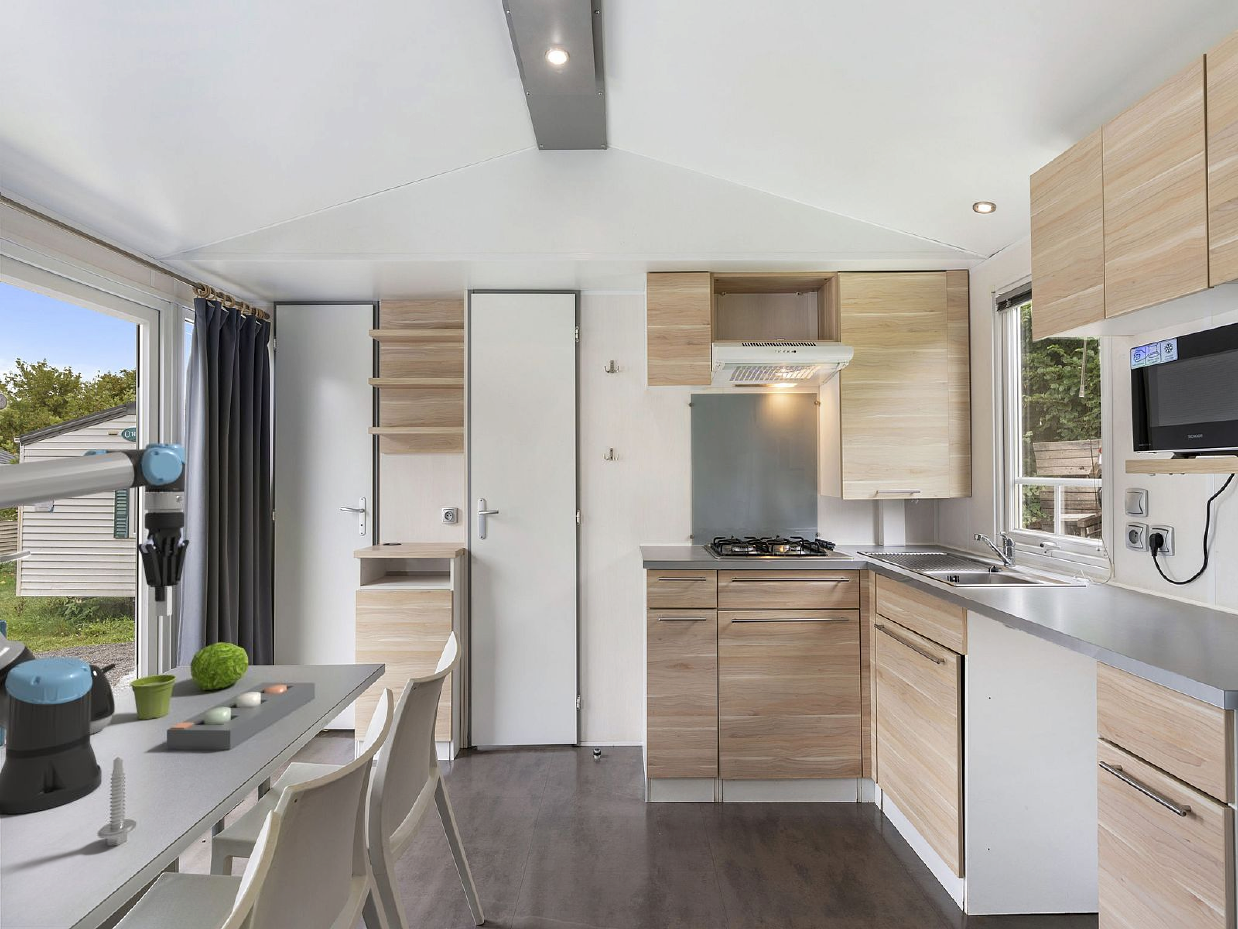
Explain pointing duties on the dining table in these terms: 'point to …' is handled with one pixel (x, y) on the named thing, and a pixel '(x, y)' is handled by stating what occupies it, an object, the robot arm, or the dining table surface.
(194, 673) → the lettuce
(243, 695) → the cream button
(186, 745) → the button console
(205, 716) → the sage button
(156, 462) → the robot arm
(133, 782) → the dining table surface
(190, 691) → the dining table surface
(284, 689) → the peach rounded knob
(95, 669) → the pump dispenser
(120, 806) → the screw
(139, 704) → the plant pot
